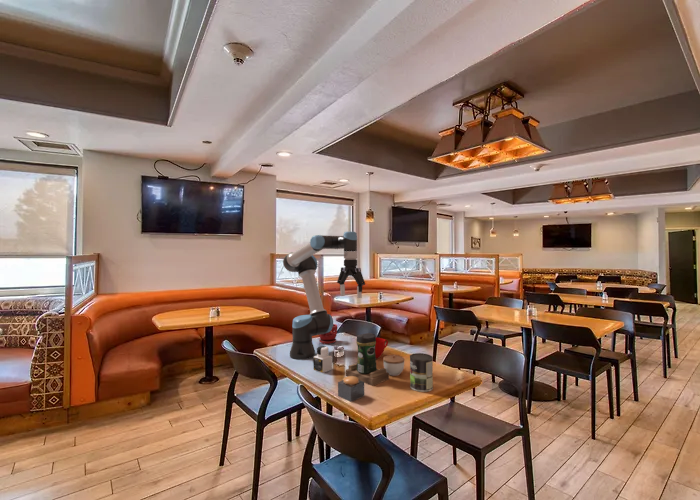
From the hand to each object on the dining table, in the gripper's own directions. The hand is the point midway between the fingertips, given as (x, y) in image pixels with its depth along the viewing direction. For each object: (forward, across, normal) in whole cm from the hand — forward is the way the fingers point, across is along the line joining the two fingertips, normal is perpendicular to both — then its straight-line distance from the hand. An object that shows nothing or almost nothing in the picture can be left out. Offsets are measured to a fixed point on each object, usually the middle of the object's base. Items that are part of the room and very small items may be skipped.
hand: (350, 296), depth 189 cm
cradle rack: (+37, +22, -10) cm, 44 cm away
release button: (+37, +32, -31) cm, 58 cm away
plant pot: (+37, -42, +18) cm, 59 cm away
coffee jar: (+34, +22, -11) cm, 42 cm away
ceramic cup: (+37, +3, +18) cm, 41 cm away
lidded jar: (+37, +28, +3) cm, 46 cm away
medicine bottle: (+37, -2, -19) cm, 42 cm away
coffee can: (+37, +48, -2) cm, 61 cm away
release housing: (+37, +32, -31) cm, 58 cm away
